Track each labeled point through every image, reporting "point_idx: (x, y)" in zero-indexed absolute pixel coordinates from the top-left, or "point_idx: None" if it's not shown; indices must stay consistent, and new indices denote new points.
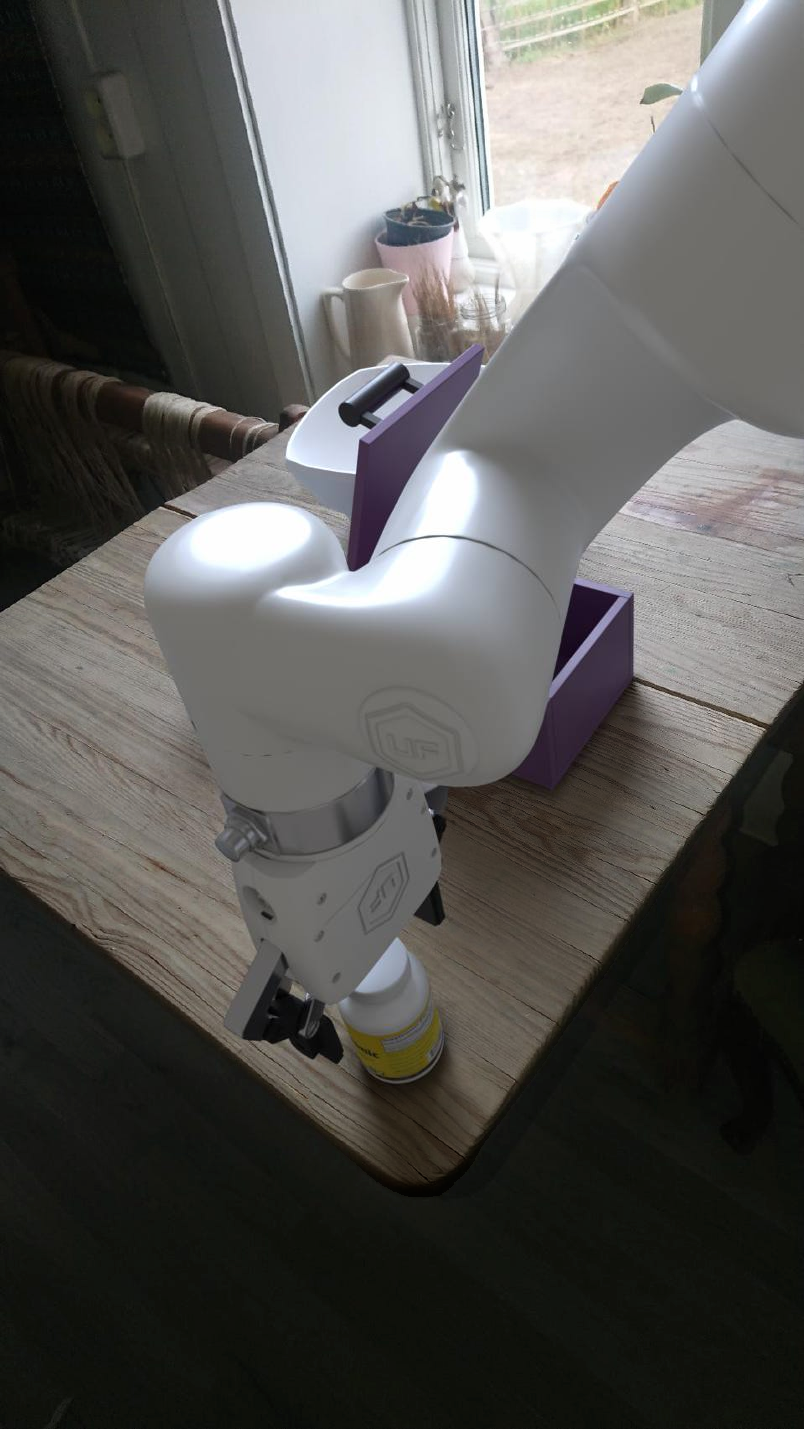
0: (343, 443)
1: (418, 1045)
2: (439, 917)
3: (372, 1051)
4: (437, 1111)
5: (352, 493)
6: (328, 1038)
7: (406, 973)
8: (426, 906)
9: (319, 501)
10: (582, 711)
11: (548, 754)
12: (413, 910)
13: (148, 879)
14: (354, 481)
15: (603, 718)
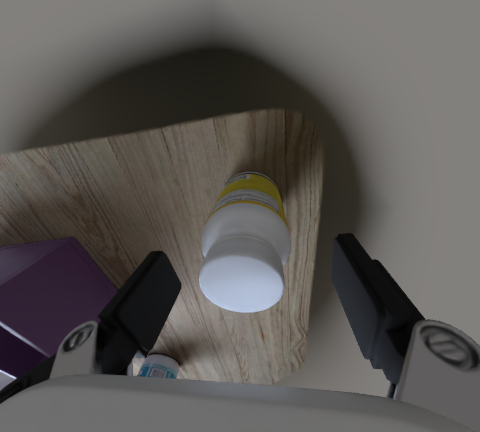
0: None
1: (252, 186)
2: (151, 259)
3: (283, 210)
4: (269, 146)
5: None
6: (386, 283)
7: (221, 250)
8: (150, 282)
9: None
10: (5, 262)
11: (40, 260)
12: (104, 407)
13: (270, 335)
14: None
15: (23, 243)
